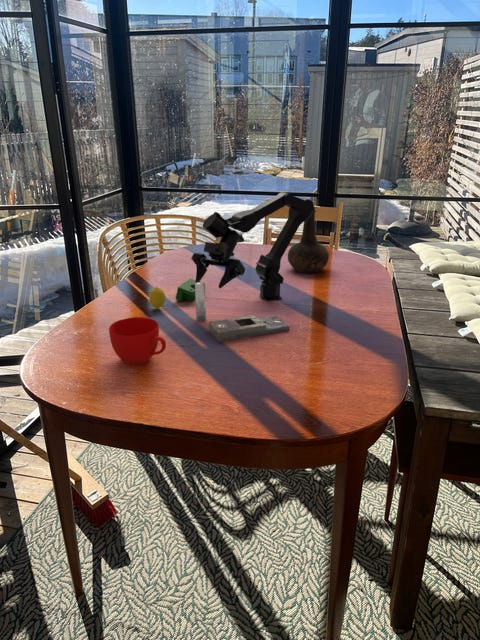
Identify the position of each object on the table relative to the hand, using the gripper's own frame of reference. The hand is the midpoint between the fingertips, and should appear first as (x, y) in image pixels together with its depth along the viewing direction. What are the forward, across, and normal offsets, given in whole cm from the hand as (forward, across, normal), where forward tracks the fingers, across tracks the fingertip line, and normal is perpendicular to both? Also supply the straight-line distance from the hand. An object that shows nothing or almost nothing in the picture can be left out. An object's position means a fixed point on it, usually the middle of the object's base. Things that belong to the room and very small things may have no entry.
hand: (207, 285), depth 155 cm
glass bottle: (-41, +5, +56) cm, 70 cm away
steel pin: (+11, 0, +5) cm, 12 cm away
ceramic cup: (+34, +5, -18) cm, 39 cm away
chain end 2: (+8, +20, +7) cm, 22 cm away
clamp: (0, -16, +16) cm, 22 cm away
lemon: (+11, -18, +5) cm, 22 cm away
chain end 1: (+12, +16, +3) cm, 20 cm away
